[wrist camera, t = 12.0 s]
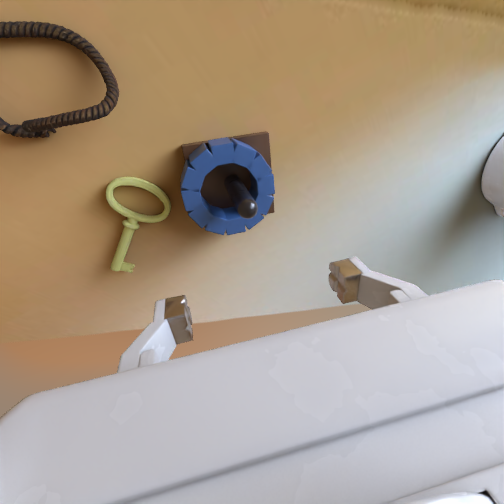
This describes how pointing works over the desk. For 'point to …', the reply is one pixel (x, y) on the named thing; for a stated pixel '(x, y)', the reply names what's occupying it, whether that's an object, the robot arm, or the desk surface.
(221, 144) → the ring
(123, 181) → the key
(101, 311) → the desk surface
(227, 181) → the peg stand
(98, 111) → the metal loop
